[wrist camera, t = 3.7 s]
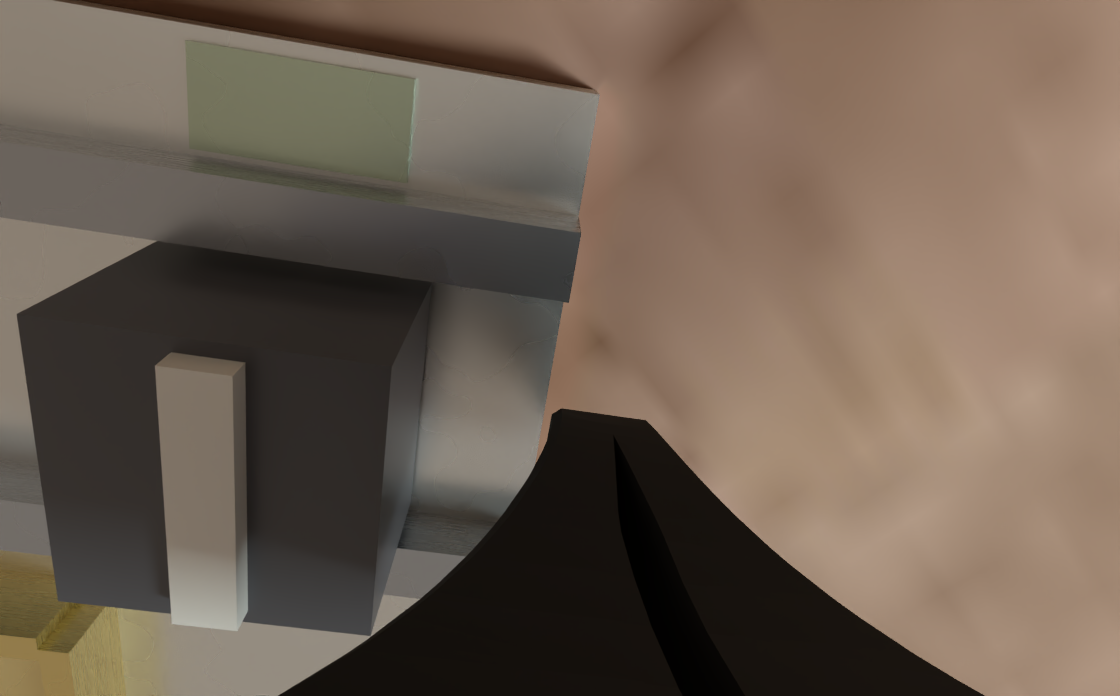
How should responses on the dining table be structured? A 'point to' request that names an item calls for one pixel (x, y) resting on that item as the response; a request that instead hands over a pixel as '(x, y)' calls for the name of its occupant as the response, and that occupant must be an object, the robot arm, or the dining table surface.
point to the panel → (288, 234)
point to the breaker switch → (227, 435)
